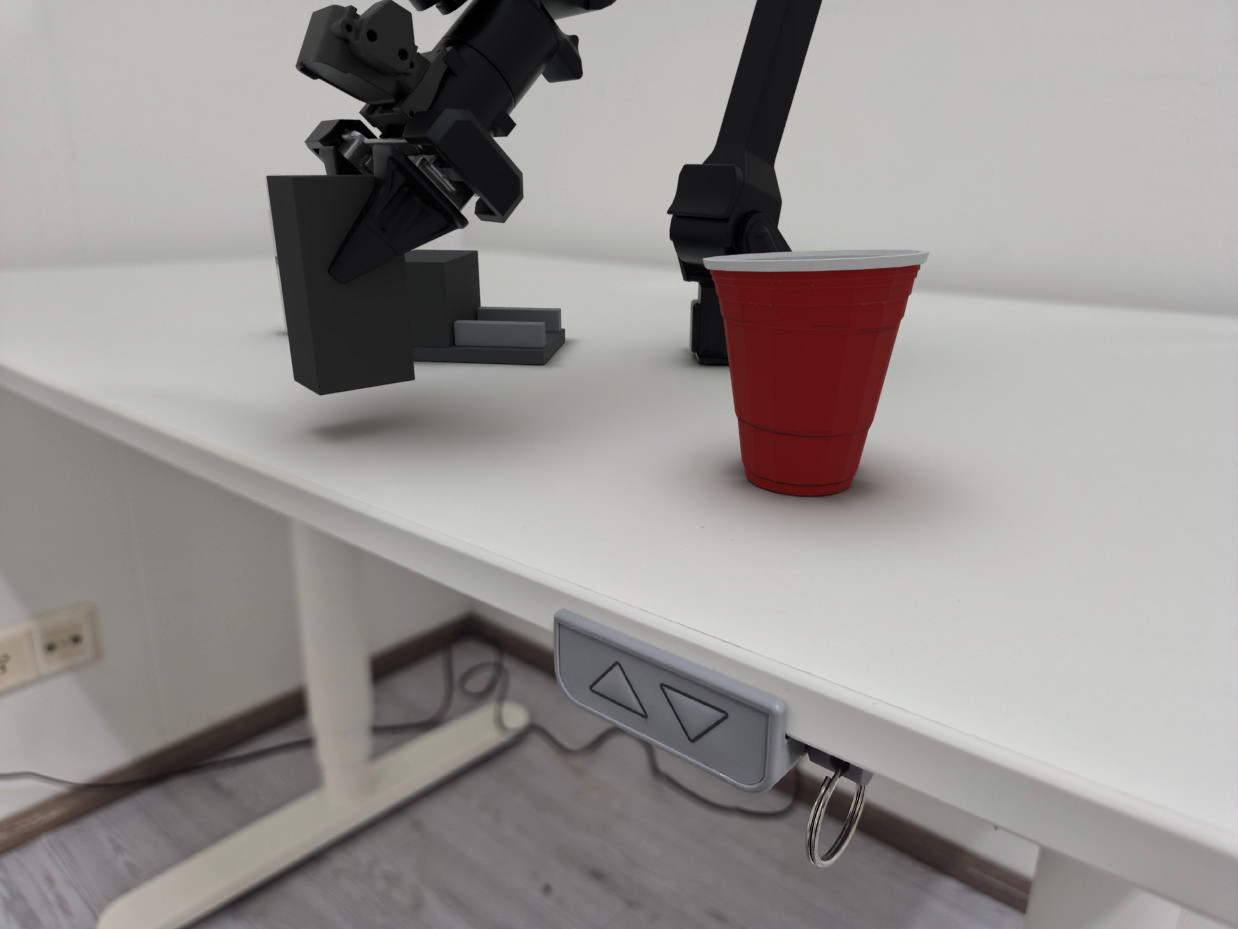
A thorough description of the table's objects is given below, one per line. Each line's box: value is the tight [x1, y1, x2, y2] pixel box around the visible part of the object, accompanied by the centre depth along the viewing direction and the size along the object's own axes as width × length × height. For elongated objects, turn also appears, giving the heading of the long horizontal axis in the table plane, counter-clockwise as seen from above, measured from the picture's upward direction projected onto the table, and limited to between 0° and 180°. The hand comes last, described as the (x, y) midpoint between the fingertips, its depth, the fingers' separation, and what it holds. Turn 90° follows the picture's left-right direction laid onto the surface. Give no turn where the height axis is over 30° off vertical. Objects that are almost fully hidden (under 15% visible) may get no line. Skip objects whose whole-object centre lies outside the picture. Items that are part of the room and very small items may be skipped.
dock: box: [405, 248, 566, 366], centre depth 73 cm, size 14×10×8 cm
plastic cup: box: [703, 249, 930, 497], centre depth 43 cm, size 11×11×12 cm
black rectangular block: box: [265, 174, 416, 397], centre depth 49 cm, size 6×4×12 cm
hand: (319, 274), depth 48 cm, fingers closed on black rectangular block, 4 cm apart
